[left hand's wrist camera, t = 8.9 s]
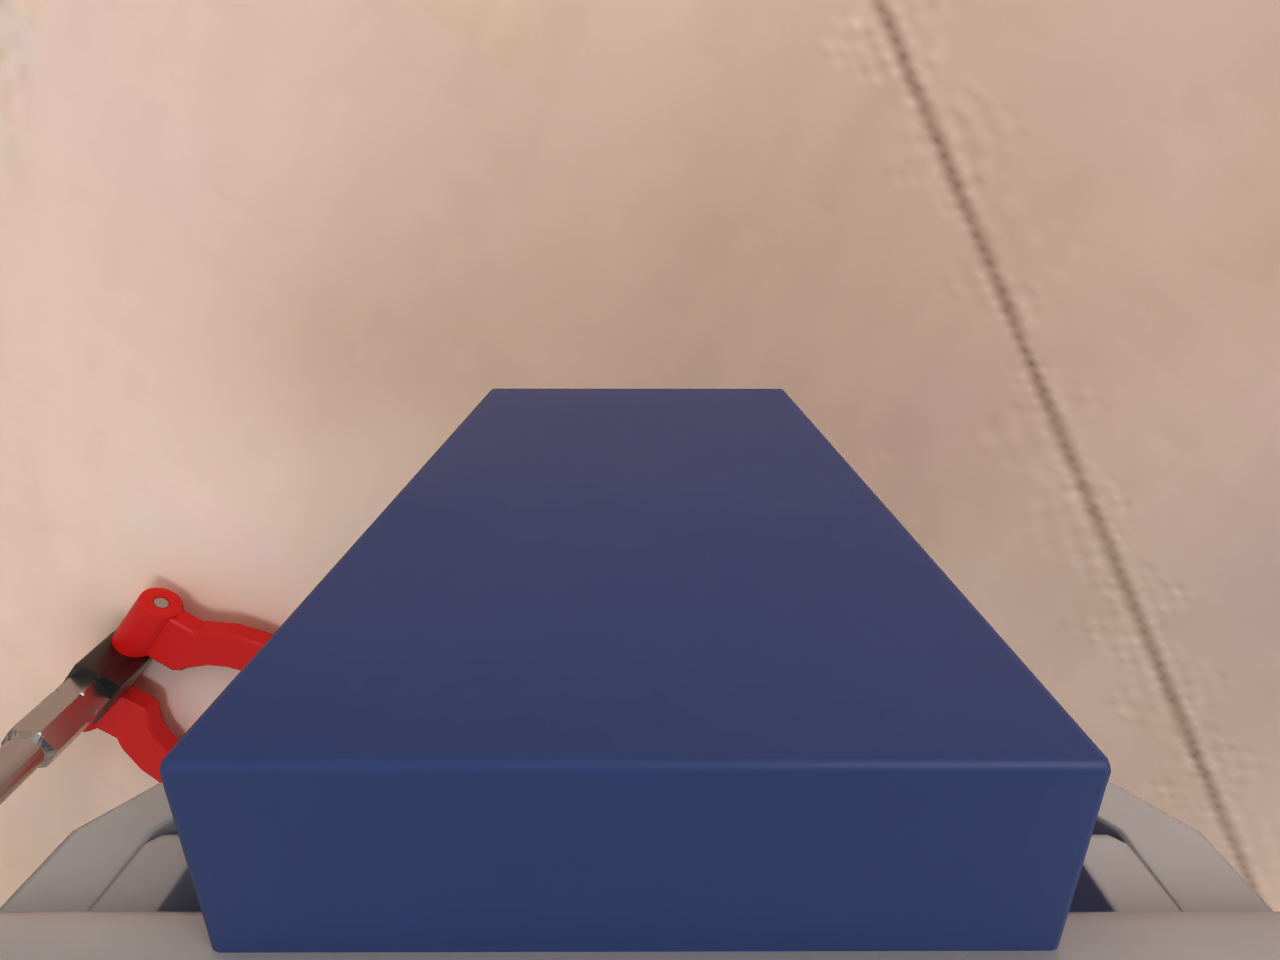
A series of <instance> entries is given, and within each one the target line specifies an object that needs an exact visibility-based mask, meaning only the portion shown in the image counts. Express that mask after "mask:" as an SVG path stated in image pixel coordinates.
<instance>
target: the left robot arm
mask: <svg viewBox="0 0 1280 960" xmlns="http://www.w3.org/2000/svg"><path fill="white" fill-rule="evenodd" d="M0 960H1280V912H1274V911H1273V910H1272V909H1271V908H1270V907H1269V906H1268V905H1267V904H1266V903H1265V902H1264V901H1263V900H1262V898H1261V897H1260V896H1259V895H1258V894H1257V893H1256V892H1255V891H1254V890H1253V889H1252V888H1251V887H1250V885H1249V884H1248V883H1247V882H1246V881H1245V880H1244V879H1243V878H1242V877H1241V876H1240V875H1239V874H1238V872H1237V871H1236V870H1235V869H1234V868H1233V867H1232V866H1231V865H1230V864H1229V863H1228V862H1227V861H1226V859H1225V858H1224V857H1223V856H1222V855H1221V854H1220V853H1219V852H1218V851H1217V850H1216V849H1215V848H1214V846H1213V845H1212V844H1211V843H1210V842H1209V841H1208V840H1207V839H1206V838H1205V837H1204V836H1203V835H1202V833H1200V832H1199V831H1197V830H1195V829H1193V828H1191V827H1190V826H1188V825H1186V824H1184V823H1182V822H1181V821H1179V820H1177V819H1175V818H1174V817H1172V816H1170V815H1168V814H1166V813H1165V812H1163V811H1161V810H1159V809H1157V808H1156V807H1154V806H1152V805H1150V804H1148V803H1147V802H1145V801H1143V800H1141V799H1139V798H1138V797H1136V796H1134V795H1132V794H1130V793H1129V792H1127V791H1125V790H1123V789H1121V788H1120V787H1118V786H1116V785H1114V784H1112V783H1111V782H1109V781H1108V783H1107V786H1106V789H1105V793H1104V796H1103V799H1102V803H1101V806H1100V809H1099V813H1098V816H1097V819H1096V823H1095V826H1094V829H1093V833H1092V836H1091V839H1090V843H1089V846H1088V849H1087V853H1086V856H1085V859H1084V863H1083V866H1082V869H1081V873H1080V876H1079V879H1078V883H1077V886H1076V889H1075V893H1074V896H1073V899H1072V903H1071V906H1070V909H1069V913H1068V916H1067V919H1066V923H1065V926H1064V929H1063V932H1062V936H1061V939H1060V942H1059V946H1058V948H1057V949H1055V950H1053V951H729V952H284V953H219V952H217V951H214V950H213V948H212V945H211V941H210V938H209V935H208V932H207V928H206V925H205V922H204V918H203V915H202V912H201V908H200V905H199V902H198V899H197V895H196V892H195V889H194V885H193V882H192V879H191V875H190V872H189V869H188V866H187V862H186V859H185V856H184V852H183V849H182V846H181V842H180V839H179V836H178V833H177V829H176V826H175V823H174V819H173V816H172V813H171V809H170V806H169V803H168V800H167V796H166V793H165V790H164V786H163V783H162V782H161V783H160V784H158V785H156V786H154V787H152V788H150V789H149V790H147V791H145V792H143V793H141V794H140V795H138V796H136V797H134V798H132V799H130V800H129V801H127V802H125V803H123V804H121V805H120V806H118V807H116V808H114V809H112V810H111V811H109V812H107V813H105V814H103V815H101V816H100V817H98V818H96V819H94V820H92V821H91V822H89V823H87V824H85V825H83V826H81V827H80V828H78V829H76V830H74V831H72V832H71V833H70V835H69V836H68V837H67V838H66V839H65V840H64V841H63V842H62V843H61V844H60V845H59V846H58V847H57V848H56V849H55V850H54V852H53V853H52V854H51V855H50V856H49V857H48V858H47V859H46V860H45V861H44V862H43V863H42V864H41V865H40V866H39V867H38V868H37V870H36V871H35V872H34V873H33V874H32V875H31V876H30V877H29V878H28V879H27V880H26V881H25V882H24V883H23V884H22V885H21V887H20V888H19V889H18V890H17V891H16V892H15V893H14V894H13V895H12V896H11V897H10V898H9V899H8V900H7V901H6V902H5V904H4V905H3V906H2V907H1V908H0Z"/></svg>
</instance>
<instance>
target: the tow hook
mask: <svg viewBox="0 0 1280 960" xmlns="http://www.w3.org/2000/svg"><path fill="white" fill-rule="evenodd" d="M182 609H183V602H182V600H181V599H180V597H179V596H178V595H176V594H175V593H174V592H172V591H170V590H167V589H164V588H150V589H147V590H145V591H144V592H142V594H141V595H140V596H139V598H138V599H137V601H136V602H135V604H134V605H133V607H132V608H131V610H130V611H129V613H128V614H127V615H126V617H125V618H124V620H123V621H122V623H121V624H120V626H119V627H118V629H117V630H116V631H114V632H113V633H111V634H110V635H109V636H108V637H107V638H106V639H104V640H103V641H102V642H101V643H100V644H99V645H98V646H96V647H95V648H94V649H93V650H92V651H91V652H89V653H88V654H87V655H86V656H85V657H84V658H83V659H81V660H80V661H79V662H78V663H77V664H76V665H75V666H74V667H73V669H72V670H71V672H70V673H69V675H68V676H67V678H66V679H65V681H64V682H63V683H62V684H61V685H60V686H59V687H58V688H57V689H56V690H55V691H54V692H53V693H51V694H50V695H49V696H48V697H47V698H45V699H44V700H43V701H42V702H41V703H40V704H39V705H37V706H36V707H35V708H34V709H33V710H32V711H31V712H30V713H28V714H27V715H26V716H25V717H24V718H23V719H22V720H20V721H19V722H18V723H17V724H16V725H15V726H14V727H13V728H12V729H11V730H10V731H9V732H8V733H7V735H6V736H5V738H4V740H3V741H2V743H1V747H0V805H1V804H2V803H3V802H4V801H5V800H6V799H7V798H8V797H9V796H10V795H11V794H12V793H13V792H14V791H15V790H16V789H17V788H18V787H19V786H20V785H21V784H22V783H23V782H24V781H25V780H26V779H27V778H28V777H29V776H30V775H31V774H32V773H33V772H34V771H35V770H36V769H37V768H44V767H47V766H48V765H50V764H51V763H52V762H53V761H54V760H55V759H56V758H57V757H58V755H59V754H60V753H61V752H62V751H63V750H64V749H65V748H66V747H67V746H68V745H69V744H70V743H71V742H72V741H73V740H74V739H75V738H76V737H77V736H78V735H79V734H80V733H81V732H86V731H91V730H93V729H95V728H99V729H101V730H102V731H104V732H106V733H108V734H110V735H112V736H114V737H116V738H117V739H118V741H119V743H120V745H121V747H122V749H123V750H124V751H125V752H126V753H127V754H128V755H129V756H130V757H131V758H132V760H133V761H134V762H135V763H136V764H137V765H138V766H139V767H140V768H141V769H142V770H143V771H145V772H146V773H147V774H149V775H150V776H152V777H153V778H155V779H156V780H157V781H159V782H160V783H161V782H162V780H161V776H160V773H159V771H160V765H161V762H162V760H163V758H164V757H165V756H166V755H167V754H168V752H169V751H170V750H171V749H172V748H173V747H174V746H175V745H176V744H177V742H178V740H177V739H176V738H175V737H174V735H173V734H172V733H171V732H170V731H169V730H168V728H167V726H166V724H165V722H164V720H163V718H162V716H161V714H160V708H159V703H158V702H157V700H156V699H155V698H154V697H152V696H150V695H148V694H147V693H145V692H143V691H141V690H139V689H137V688H135V687H133V684H134V683H135V681H136V680H137V679H138V677H139V676H140V674H141V673H142V672H143V670H144V669H145V667H146V666H147V665H148V663H149V662H150V660H151V659H154V660H156V661H158V662H160V663H161V664H163V665H165V666H167V667H169V668H170V669H172V670H183V669H186V668H188V667H196V666H204V665H214V666H225V667H230V668H234V669H237V670H241V671H242V669H243V668H244V667H245V666H246V665H247V664H248V663H249V662H250V660H251V659H252V658H253V657H254V656H255V655H256V654H257V653H258V651H259V650H260V649H261V648H262V647H263V646H264V645H265V644H266V642H267V641H268V640H269V639H270V638H271V637H272V636H273V635H271V634H270V633H267V632H264V631H260V630H257V629H254V628H250V627H247V626H244V625H240V624H234V623H223V622H212V621H201V620H200V619H198V618H196V617H194V616H193V615H191V614H189V613H187V612H186V611H184V610H182Z"/></svg>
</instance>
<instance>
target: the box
mask: <svg viewBox="0 0 1280 960" xmlns="http://www.w3.org/2000/svg"><path fill="white" fill-rule="evenodd" d="M159 773H160V776H161V780H162V783H163V786H164V790H165V793H166V796H167V800H168V803H169V806H170V809H171V813H172V816H173V819H174V823H175V826H176V829H177V833H178V836H179V839H180V842H181V846H182V849H183V852H184V856H185V859H186V862H187V866H188V869H189V872H190V875H191V879H192V882H193V885H194V889H195V892H196V895H197V899H198V902H199V905H200V908H201V912H202V915H203V918H204V922H205V925H206V928H207V932H208V935H209V938H210V941H211V945H212V948H213V950H214V951H217V952H219V953H284V952H729V951H1053V950H1055V949H1057V948H1058V946H1059V942H1060V939H1061V936H1062V932H1063V929H1064V926H1065V923H1066V919H1067V916H1068V913H1069V909H1070V906H1071V903H1072V899H1073V896H1074V893H1075V889H1076V886H1077V883H1078V879H1079V876H1080V873H1081V869H1082V866H1083V863H1084V859H1085V856H1086V853H1087V849H1088V846H1089V843H1090V839H1091V836H1092V833H1093V829H1094V826H1095V823H1096V819H1097V816H1098V813H1099V809H1100V806H1101V803H1102V799H1103V796H1104V793H1105V789H1106V786H1107V783H1108V779H1109V776H1110V773H1111V769H1110V764H1109V761H1108V759H1107V757H1106V756H1105V755H1104V754H1103V753H1102V752H1101V750H1100V749H1099V748H1098V747H1097V746H1096V745H1095V744H1094V743H1093V741H1092V740H1091V739H1090V738H1089V737H1088V736H1087V735H1086V733H1085V732H1084V731H1083V730H1082V729H1081V728H1080V727H1079V726H1078V724H1077V723H1076V722H1075V721H1074V720H1073V719H1072V718H1071V716H1070V715H1069V714H1068V713H1067V712H1066V711H1065V710H1064V708H1063V707H1062V706H1061V705H1060V704H1059V703H1058V702H1057V701H1056V699H1055V698H1054V697H1053V696H1052V695H1051V694H1050V693H1049V691H1048V690H1047V689H1046V688H1045V687H1044V686H1043V685H1042V683H1041V682H1040V681H1039V680H1038V679H1037V678H1036V677H1035V676H1034V674H1033V673H1032V672H1031V671H1030V670H1029V669H1028V668H1027V666H1026V665H1025V664H1024V663H1023V662H1022V661H1021V660H1020V659H1019V657H1018V656H1017V655H1016V654H1015V653H1014V652H1013V651H1012V649H1011V648H1010V647H1009V646H1008V645H1007V644H1006V643H1005V641H1004V640H1003V639H1002V638H1001V637H1000V636H999V635H998V634H997V632H996V631H995V630H994V629H993V628H992V627H991V626H990V624H989V623H988V622H987V621H986V620H985V619H984V618H983V616H982V615H981V614H980V613H979V612H978V611H977V610H976V609H975V607H974V606H973V605H972V604H971V603H970V602H969V601H968V599H967V598H966V597H965V596H964V595H963V594H962V593H961V591H960V590H959V589H958V588H957V587H956V586H955V585H954V584H953V582H952V581H951V580H950V579H949V578H948V577H947V576H946V574H945V573H944V572H943V571H942V570H941V569H940V568H939V567H938V565H937V564H936V563H935V562H934V561H933V560H932V559H931V557H930V556H929V555H928V554H927V553H926V552H925V551H924V549H923V548H922V547H921V546H920V545H919V544H918V543H917V542H916V540H915V539H914V538H913V537H912V536H911V535H910V534H909V532H908V531H907V530H906V529H905V528H904V527H903V526H902V524H901V523H900V522H899V521H898V520H897V519H896V518H895V517H894V515H893V514H892V513H891V512H890V511H889V510H888V509H887V507H886V506H885V505H884V504H883V503H882V502H881V501H880V500H879V498H878V497H877V496H876V495H875V494H874V493H873V492H872V490H871V489H870V488H869V487H868V486H867V485H866V484H865V482H864V481H863V480H862V479H861V478H860V477H859V476H858V475H857V473H856V472H855V471H854V470H853V469H852V468H851V467H850V465H849V464H848V463H847V462H846V461H845V460H844V459H843V457H842V456H841V455H840V454H839V453H838V452H837V451H836V450H835V448H834V447H833V446H832V445H831V444H830V443H829V442H828V440H827V439H826V438H825V437H824V436H823V435H822V434H821V432H820V431H819V430H818V429H817V428H816V427H815V426H814V425H813V423H812V422H811V421H810V420H809V419H808V418H807V417H806V415H805V414H804V413H803V412H802V411H801V410H800V409H799V408H798V406H797V405H796V404H795V403H794V402H793V401H792V400H791V398H790V397H789V396H788V395H787V394H786V393H785V392H784V390H782V389H492V390H491V391H490V392H489V393H488V394H487V395H486V397H485V398H484V399H483V400H482V401H481V402H480V403H479V404H478V406H477V407H476V408H475V409H474V410H473V411H472V412H471V413H470V415H469V416H468V417H467V418H466V419H465V420H464V421H463V422H462V424H461V425H460V426H459V427H458V428H457V429H456V430H455V431H454V433H453V434H452V435H451V436H450V437H449V438H448V439H447V440H446V442H445V443H444V444H443V445H442V446H441V447H440V448H439V449H438V451H437V452H436V453H435V454H434V455H433V456H432V457H431V458H430V459H429V461H428V462H427V463H426V464H425V465H424V466H423V467H422V468H421V470H420V471H419V472H418V473H417V474H416V475H415V476H414V477H413V479H412V480H411V481H410V482H409V483H408V484H407V485H406V486H405V488H404V489H403V490H402V491H401V492H400V493H399V494H398V495H397V497H396V498H395V499H394V500H393V501H392V502H391V503H390V504H389V506H388V507H387V508H386V509H385V510H384V511H383V512H382V513H381V514H380V516H379V517H378V518H377V519H376V520H375V521H374V522H373V523H372V525H371V526H370V527H369V528H368V529H367V530H366V531H365V532H364V534H363V535H362V536H361V537H360V538H359V539H358V540H357V541H356V543H355V544H354V545H353V546H352V547H351V548H350V549H349V550H348V552H347V553H346V554H345V555H344V556H343V557H342V558H341V559H340V561H339V562H338V563H337V564H336V565H335V566H334V567H333V568H332V570H331V571H330V572H329V573H328V574H327V575H326V576H325V577H324V578H323V580H322V581H321V582H320V583H319V584H318V585H317V586H316V587H315V589H314V590H313V591H312V592H311V593H310V594H309V595H308V596H307V598H306V599H305V600H304V601H303V602H302V603H301V604H300V605H299V607H298V608H297V609H296V610H295V611H294V612H293V613H292V614H291V616H290V617H289V618H288V619H287V620H286V621H285V622H284V623H283V625H282V626H281V627H280V628H279V629H278V630H277V631H276V632H275V633H274V635H273V636H272V637H271V638H270V639H269V640H268V641H267V642H266V644H265V645H264V646H263V647H262V648H261V649H260V650H259V651H258V653H257V654H256V655H255V656H254V657H253V658H252V659H251V660H250V662H249V663H248V664H247V665H246V666H245V667H244V668H243V669H242V671H241V672H240V673H239V674H238V675H237V676H236V677H235V678H234V680H233V681H232V682H231V683H230V684H229V685H228V686H227V687H226V688H225V690H224V691H223V692H222V693H221V694H220V695H219V696H218V697H217V699H216V700H215V701H214V702H213V703H212V704H211V705H210V706H209V708H208V709H207V710H206V711H205V712H204V713H203V714H202V715H201V717H200V718H199V719H198V720H197V721H196V722H195V723H194V724H193V726H192V727H191V728H190V729H189V730H188V731H187V732H186V733H185V735H184V736H183V737H182V738H181V739H180V740H179V741H178V742H177V744H176V745H175V746H174V747H173V748H172V749H171V750H170V751H169V752H168V754H167V755H166V756H165V757H164V758H163V760H162V762H161V765H160V771H159Z"/></svg>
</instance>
